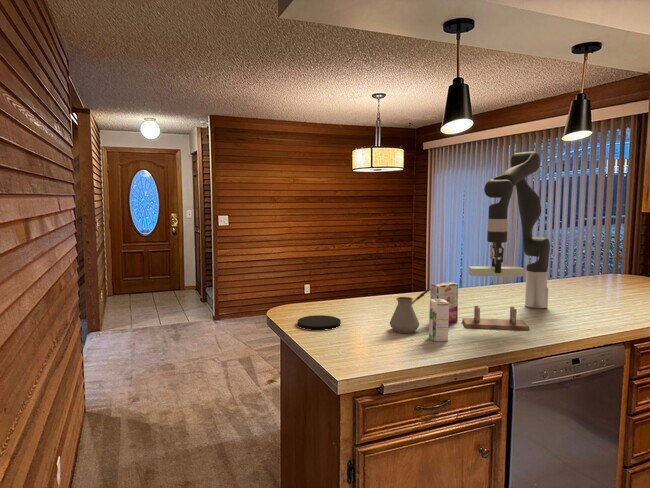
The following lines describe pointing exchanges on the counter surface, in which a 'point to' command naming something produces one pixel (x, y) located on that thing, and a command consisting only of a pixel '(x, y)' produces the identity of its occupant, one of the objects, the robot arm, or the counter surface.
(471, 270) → the shelf board
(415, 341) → the counter surface
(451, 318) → the candy bar box
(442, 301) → the syrup box
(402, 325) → the coffee pot
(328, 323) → the wireless charger
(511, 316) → the peg rack
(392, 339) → the counter surface
